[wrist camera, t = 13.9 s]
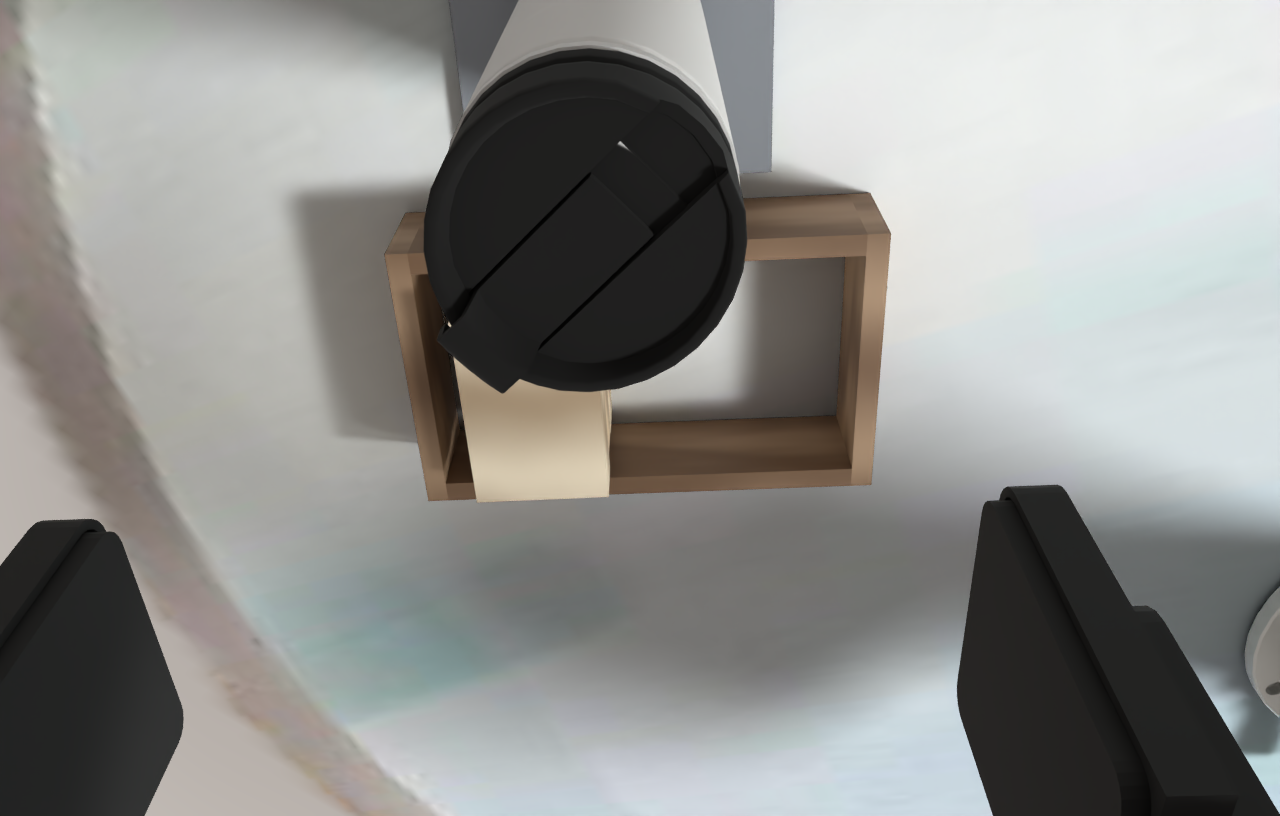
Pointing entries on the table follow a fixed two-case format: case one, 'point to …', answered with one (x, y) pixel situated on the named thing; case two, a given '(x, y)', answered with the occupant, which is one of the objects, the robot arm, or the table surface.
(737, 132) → the slate mat
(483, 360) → the travel mug
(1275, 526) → the table surface
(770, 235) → the wooden tray
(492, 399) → the maple offcut stack
